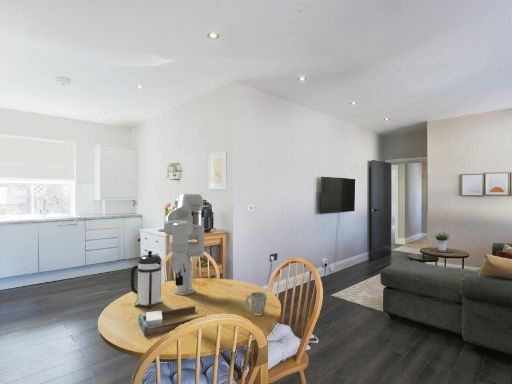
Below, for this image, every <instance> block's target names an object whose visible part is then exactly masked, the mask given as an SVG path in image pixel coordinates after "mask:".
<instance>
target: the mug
mask: <svg viewBox="0 0 512 384" xmlns="http://www.w3.org/2000/svg"><path fill="white" fill-rule="evenodd" d="M267 297H268V296H267V293H265V292H261V291H256V292H251V294H250V295H247V297H246V298H245V304H246V306H248V308H249V309H251V310H252V314H253V313H254V314H263V313H264V314H265V312H266V311H265V310H266V305H267ZM249 299H250V301H251V305H250V304H249Z"/></svg>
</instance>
